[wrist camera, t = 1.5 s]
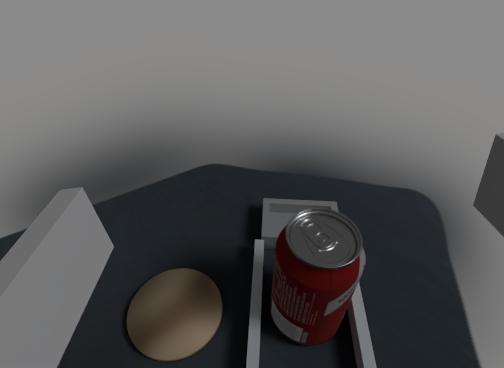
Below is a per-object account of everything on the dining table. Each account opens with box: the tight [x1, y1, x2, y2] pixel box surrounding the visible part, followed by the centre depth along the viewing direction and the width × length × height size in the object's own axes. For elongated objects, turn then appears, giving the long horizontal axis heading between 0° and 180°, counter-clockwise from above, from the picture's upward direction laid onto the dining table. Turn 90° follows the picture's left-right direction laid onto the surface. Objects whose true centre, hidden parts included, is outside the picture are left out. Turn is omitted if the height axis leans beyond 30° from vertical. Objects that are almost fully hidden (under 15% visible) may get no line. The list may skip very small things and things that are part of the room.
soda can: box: [270, 208, 365, 345], centre depth 27 cm, size 7×7×12 cm
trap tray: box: [261, 198, 338, 249], centre depth 38 cm, size 6×9×2 cm, turn 86°
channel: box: [246, 239, 376, 368], centre depth 30 cm, size 14×10×2 cm
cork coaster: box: [127, 268, 222, 362], centre depth 31 cm, size 9×9×1 cm
